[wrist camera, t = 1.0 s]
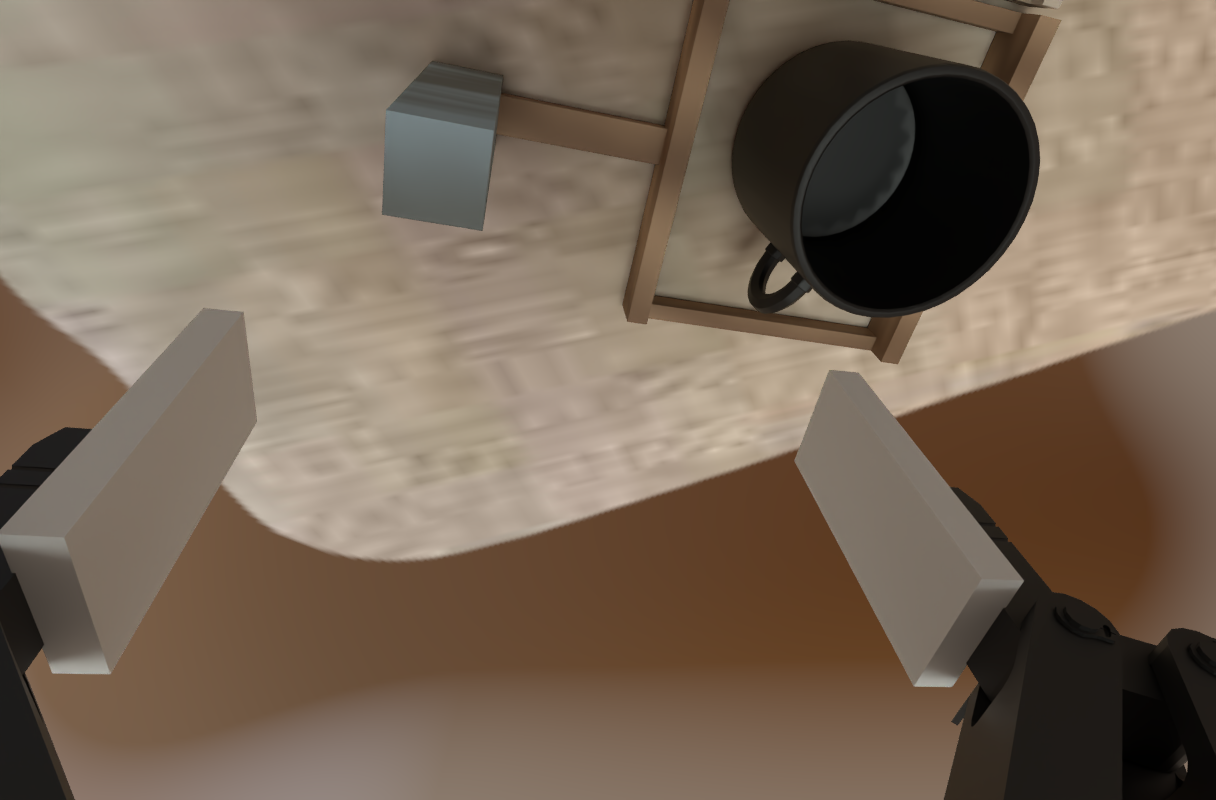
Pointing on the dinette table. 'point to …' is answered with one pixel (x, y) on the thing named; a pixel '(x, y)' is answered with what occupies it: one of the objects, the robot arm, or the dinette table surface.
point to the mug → (882, 177)
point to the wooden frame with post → (638, 157)
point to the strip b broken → (1039, 3)
